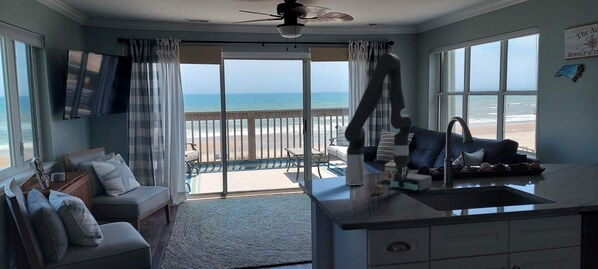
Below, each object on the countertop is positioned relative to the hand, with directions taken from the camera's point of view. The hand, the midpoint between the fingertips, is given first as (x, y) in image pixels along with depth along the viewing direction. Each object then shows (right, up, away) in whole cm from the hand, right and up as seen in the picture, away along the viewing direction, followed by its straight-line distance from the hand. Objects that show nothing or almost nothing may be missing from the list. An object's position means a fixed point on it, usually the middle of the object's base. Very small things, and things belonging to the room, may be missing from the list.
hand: (401, 187), depth 214 cm
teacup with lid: (+2, 0, +26) cm, 26 cm away
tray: (+6, 0, +5) cm, 8 cm away
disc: (+5, 0, +5) cm, 7 cm away
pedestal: (-13, -3, -6) cm, 14 cm away
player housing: (+8, -1, +8) cm, 11 cm away
